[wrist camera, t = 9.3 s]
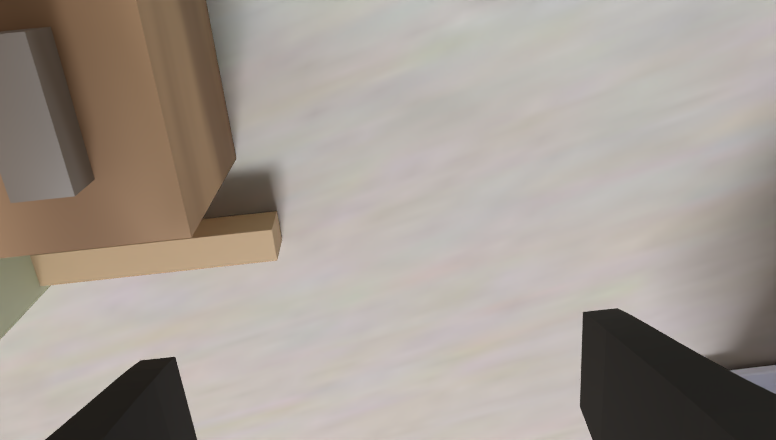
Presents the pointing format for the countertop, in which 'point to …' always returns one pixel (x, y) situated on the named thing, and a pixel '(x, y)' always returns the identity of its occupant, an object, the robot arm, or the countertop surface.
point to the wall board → (138, 259)
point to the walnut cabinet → (107, 123)
